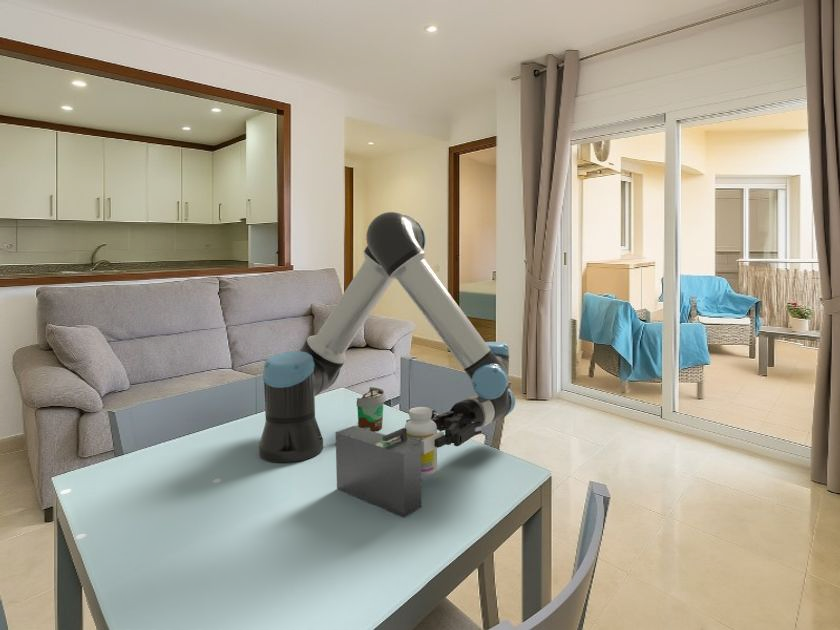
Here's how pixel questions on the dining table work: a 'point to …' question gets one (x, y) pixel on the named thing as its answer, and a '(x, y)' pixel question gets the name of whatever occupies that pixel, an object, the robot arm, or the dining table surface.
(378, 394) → the food container
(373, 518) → the dining table surface
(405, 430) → the pale blue square panel
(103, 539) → the dining table surface
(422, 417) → the supplement bottle
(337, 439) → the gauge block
